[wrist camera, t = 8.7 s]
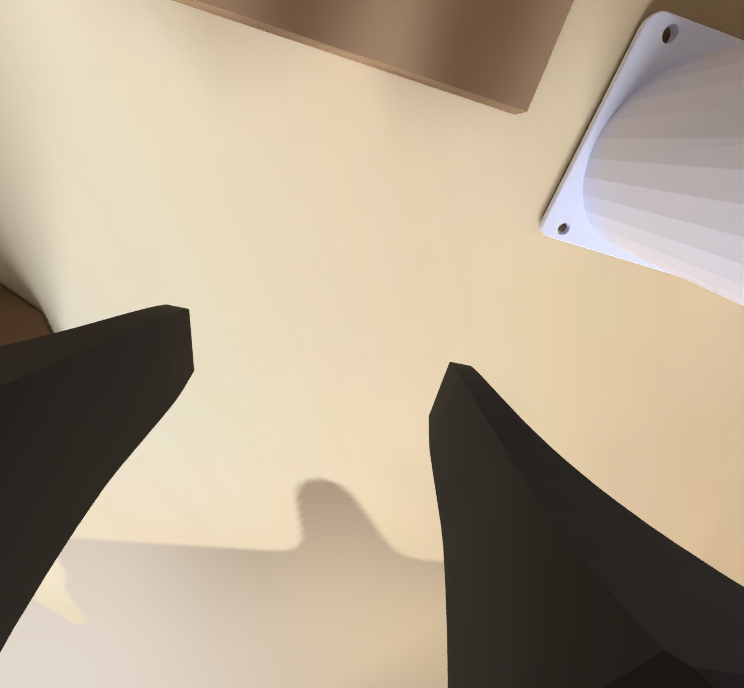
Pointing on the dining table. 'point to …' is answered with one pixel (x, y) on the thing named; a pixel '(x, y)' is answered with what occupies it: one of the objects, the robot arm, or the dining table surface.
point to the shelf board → (423, 39)
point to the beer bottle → (19, 319)
